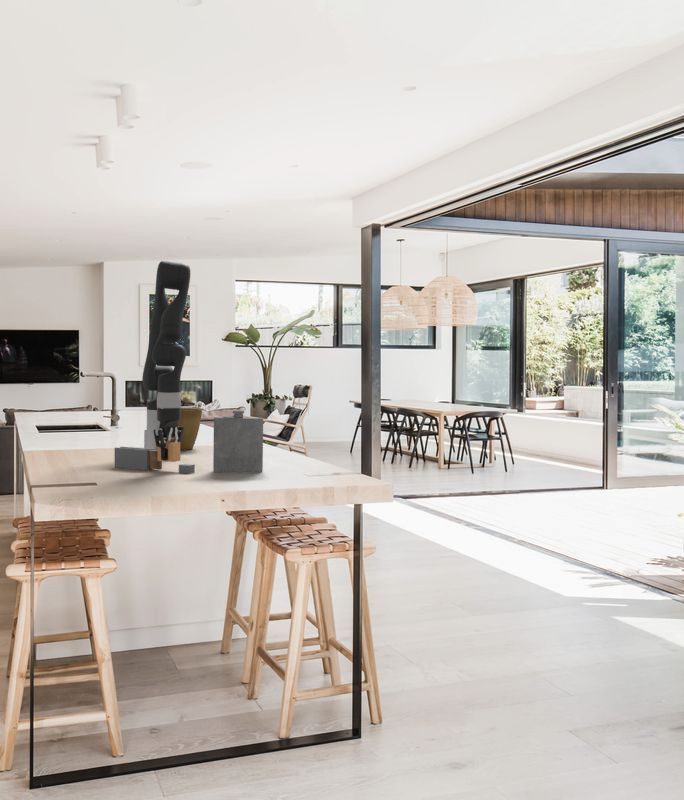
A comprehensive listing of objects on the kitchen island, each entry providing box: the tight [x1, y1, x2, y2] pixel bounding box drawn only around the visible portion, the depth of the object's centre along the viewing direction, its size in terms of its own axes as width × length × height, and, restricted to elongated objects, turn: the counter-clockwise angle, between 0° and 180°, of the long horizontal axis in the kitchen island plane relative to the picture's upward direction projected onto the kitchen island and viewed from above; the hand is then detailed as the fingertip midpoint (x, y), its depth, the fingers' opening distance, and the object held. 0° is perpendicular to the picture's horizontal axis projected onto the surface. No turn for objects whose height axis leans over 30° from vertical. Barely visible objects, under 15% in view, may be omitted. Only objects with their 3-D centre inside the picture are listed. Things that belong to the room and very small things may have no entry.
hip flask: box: [212, 409, 264, 473], centre depth 278 cm, size 16×4×20 cm, turn 94°
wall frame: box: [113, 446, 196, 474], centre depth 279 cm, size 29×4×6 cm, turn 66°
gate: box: [130, 448, 163, 470], centre depth 281 cm, size 14×1×6 cm, turn 66°
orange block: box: [158, 441, 181, 463], centre depth 277 cm, size 6×4×6 cm, turn 67°
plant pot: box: [172, 407, 203, 451], centre depth 338 cm, size 15×15×16 cm
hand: (168, 459), depth 277 cm, fingers closed on orange block, 4 cm apart
